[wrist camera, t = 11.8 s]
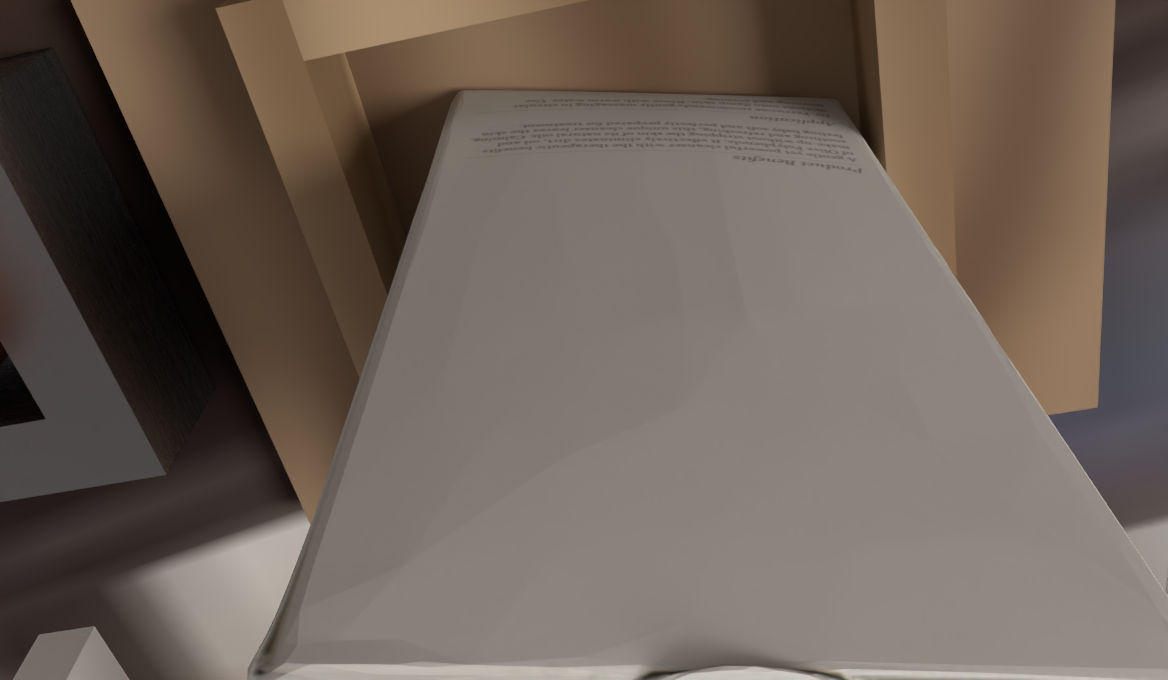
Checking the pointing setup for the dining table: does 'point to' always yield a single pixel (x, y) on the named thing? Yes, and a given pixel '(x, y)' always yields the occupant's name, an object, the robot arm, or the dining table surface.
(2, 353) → the button
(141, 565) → the dining table surface
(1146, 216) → the dining table surface
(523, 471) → the skincare box
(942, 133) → the wooden tray
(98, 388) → the button housing
